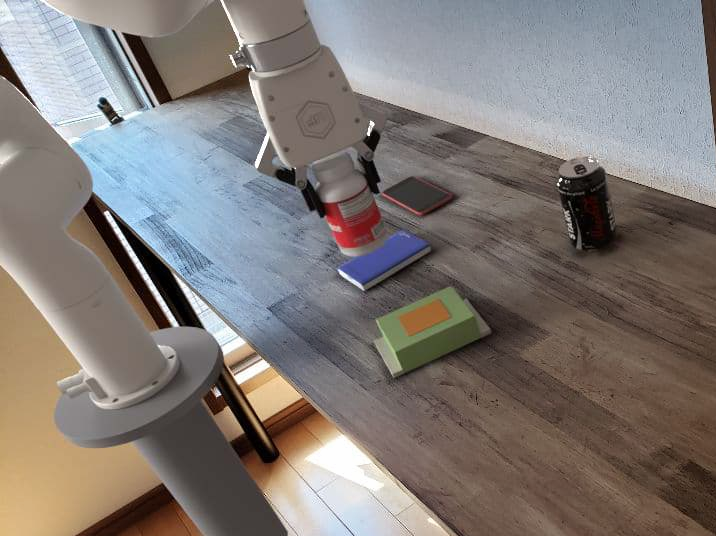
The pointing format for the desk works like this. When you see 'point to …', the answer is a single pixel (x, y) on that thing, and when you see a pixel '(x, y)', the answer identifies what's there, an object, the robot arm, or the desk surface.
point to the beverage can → (586, 204)
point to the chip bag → (428, 330)
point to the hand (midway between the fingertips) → (347, 200)
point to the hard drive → (384, 260)
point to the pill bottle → (349, 205)
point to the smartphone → (417, 195)
